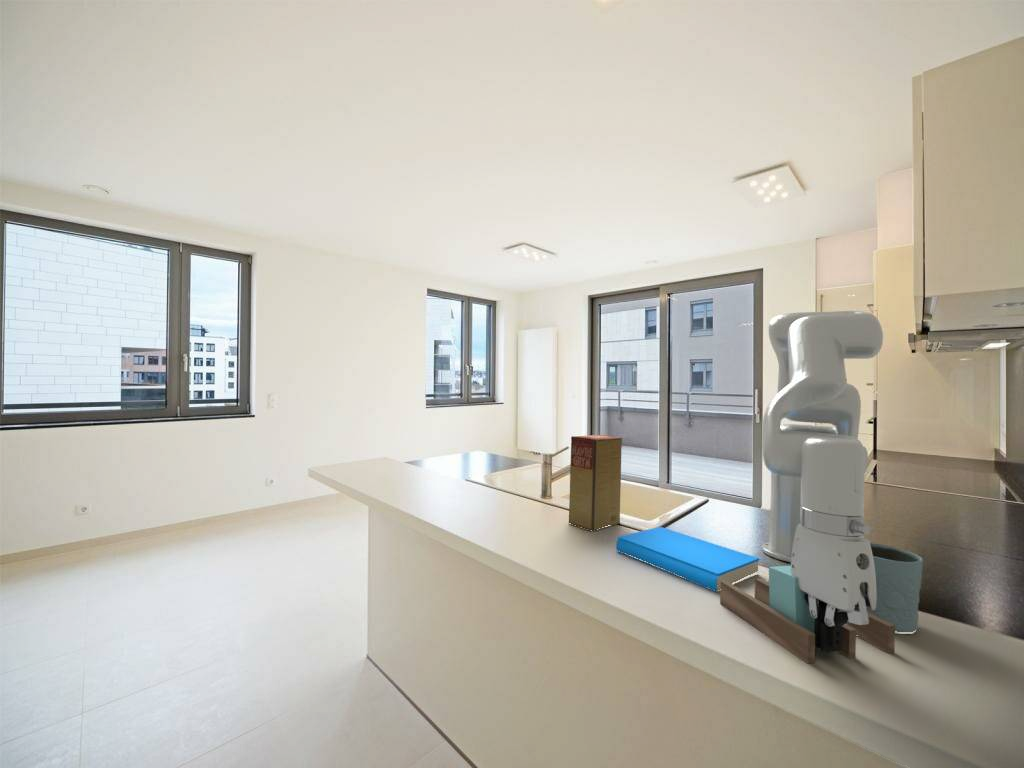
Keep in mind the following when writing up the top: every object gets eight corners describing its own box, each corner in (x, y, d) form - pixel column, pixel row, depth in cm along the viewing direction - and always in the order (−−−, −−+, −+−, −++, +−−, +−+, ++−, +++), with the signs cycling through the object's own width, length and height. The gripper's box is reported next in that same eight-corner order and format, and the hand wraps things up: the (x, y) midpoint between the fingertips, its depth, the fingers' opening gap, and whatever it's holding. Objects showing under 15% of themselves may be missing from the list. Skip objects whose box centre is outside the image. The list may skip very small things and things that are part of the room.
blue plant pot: (900, 642, 70) (902, 565, 70) (832, 611, 79) (833, 544, 79) (934, 630, 74) (936, 558, 74) (866, 603, 83) (867, 538, 83)
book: (659, 526, 115) (759, 556, 95) (659, 543, 115) (759, 576, 95) (615, 536, 105) (717, 572, 85) (615, 555, 105) (717, 595, 85)
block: (795, 628, 73) (793, 565, 74) (823, 643, 68) (821, 575, 69) (770, 630, 72) (768, 566, 73) (796, 646, 67) (794, 577, 68)
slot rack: (792, 597, 84) (793, 576, 84) (894, 652, 67) (895, 625, 67) (720, 603, 81) (720, 581, 81) (807, 663, 63) (808, 635, 63)
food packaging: (595, 516, 136) (598, 434, 136) (621, 523, 129) (624, 437, 129) (566, 523, 127) (569, 435, 127) (593, 532, 120) (596, 439, 120)
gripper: (906, 538, 59) (902, 678, 58) (806, 508, 73) (803, 620, 73) (861, 540, 57) (858, 685, 57) (768, 509, 71) (765, 624, 71)
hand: (827, 648), depth 65 cm, fingers closed
